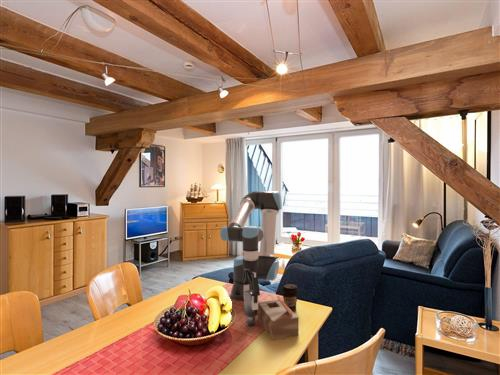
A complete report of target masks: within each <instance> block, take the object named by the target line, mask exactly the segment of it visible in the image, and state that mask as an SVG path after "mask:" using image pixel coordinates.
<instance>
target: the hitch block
mask: <svg viewBox="0 0 500 375" xmlns="http://www.w3.org/2000/svg"><path fill="white" fill-rule="evenodd" d="M289 309H290V308H289ZM290 311H291V312H292V314H293V315H292V316H291V315H290V314H289V313H288V312H287V311H286V309H285V308H284V307H283V305H282V304H281V302H280V301H279V300H278V299H274V300H267V301H258V309H257V318H258V321H259V322H260V323H261V325H262V326H263V328H264V329H265V331H266V332H267V334H268V336H270V338H271V339H272V340H273V341H276V340H281V339H285V338H286V339H287V338H291V337H298V336H299V335H300V334H299V333H300V332H299V316H298V315H297V314H296V312H293V311H292V310H291V309H290Z"/></svg>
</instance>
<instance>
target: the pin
mask: <svg viewBox="0 0 500 375" xmlns="http://www.w3.org/2000/svg"><path fill="white" fill-rule="evenodd" d="M251 295H252V290H247V291H245V292H244V300H243V315H244V316H246V325H247V326H248V327H253V326H255V325H256V316H258V309H257V310H252V296H251Z"/></svg>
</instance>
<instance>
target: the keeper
mask: <svg viewBox="0 0 500 375" xmlns="http://www.w3.org/2000/svg"><path fill="white" fill-rule="evenodd" d="M276 298H277V300H279V301H280V302H281V304H282V305H283V307H284V308H285V309H286V311H287V312H288V313H289V314H290V315H291V316H292V315H293V314H292V312H291V311H290V309H289V308H288V307H287V305H286V304H285V302H284V299H282V297H280V296H279V295H276Z"/></svg>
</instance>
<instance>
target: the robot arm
mask: <svg viewBox="0 0 500 375" xmlns="http://www.w3.org/2000/svg"><path fill="white" fill-rule="evenodd" d="M282 204H283V203H282V196H281V193H280V192H279V191H278V190H254V191H251V192H249V193H247V194H246V195H244V197H243V198H241V200H240V202H239V207H238V208H237V210H236V211H235V212H236V213H235V214H234V216H233V217H232V219H231V221H230V223H229V224H228V226H227V225H223V226H222V227H221V229H220V234H219V236H220V239H221V240H222V241H226V242H238V243H239V242H241V243H242V252H241V255H239V256H236V257H235V258H234V259H233V266H232V267H233V284H232V288H231V290H230V296H231V298H232V299H235V300H236V301H237V300H238V301H244V292H245V291H247V290H252V295H251V296H252V310H257V311H258V302H259V296H261V293H260V286H259V281H271V282H272V281H273V282H274V280H276V279H277V276H278V272H279V267H280V265H279V264H280V262H279V260H277V256H276V255H275V243H276V241H275V240H276V228H277V227H276V222H277V215H278V214H279V212H280V210H282V208H283V205H282ZM254 210H259V211H260V213H261V214H262V216H261V227H260V226H258V225H257V226H255V225H246V223H247V221H248V218H249V216H250V214H251V212H253V211H254ZM259 243H260V245H259Z"/></svg>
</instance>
